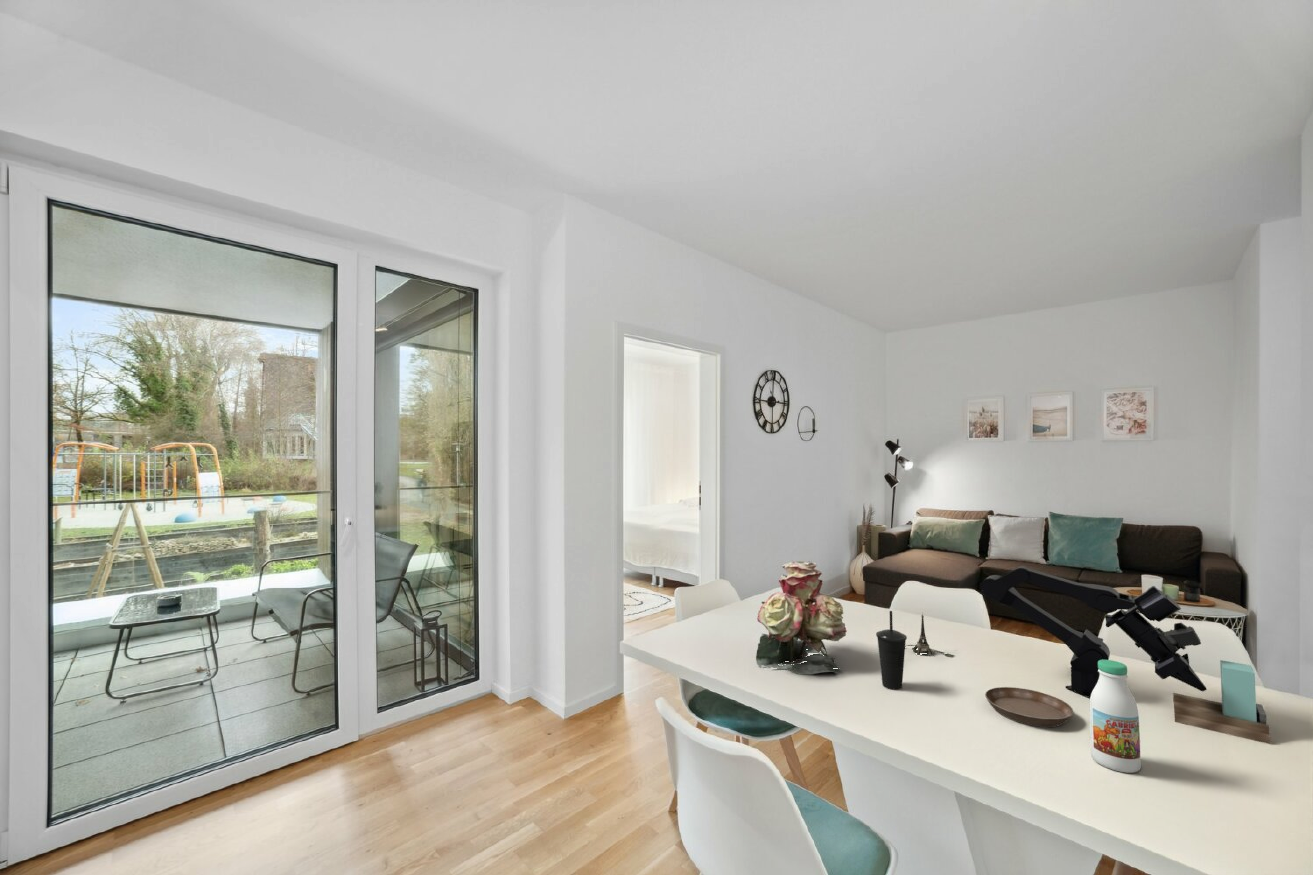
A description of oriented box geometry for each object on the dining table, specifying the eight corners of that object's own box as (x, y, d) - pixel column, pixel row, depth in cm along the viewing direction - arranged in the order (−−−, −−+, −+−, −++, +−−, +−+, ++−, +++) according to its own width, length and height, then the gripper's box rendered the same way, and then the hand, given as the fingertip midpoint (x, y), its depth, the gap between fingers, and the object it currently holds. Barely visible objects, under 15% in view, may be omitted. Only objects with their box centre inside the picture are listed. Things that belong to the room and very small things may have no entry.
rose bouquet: (751, 672, 158) (750, 567, 159) (768, 640, 186) (767, 551, 187) (846, 685, 149) (844, 574, 150) (848, 649, 177) (847, 555, 178)
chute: (1174, 721, 128) (1174, 699, 128) (1173, 702, 138) (1172, 682, 138) (1270, 744, 118) (1269, 720, 118) (1262, 722, 128) (1261, 700, 128)
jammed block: (1224, 720, 125) (1222, 667, 126) (1222, 711, 130) (1220, 660, 130) (1256, 727, 122) (1254, 673, 122) (1253, 718, 126) (1251, 665, 127)
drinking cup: (907, 683, 150) (906, 609, 151) (907, 694, 144) (906, 616, 144) (877, 678, 154) (876, 606, 154) (876, 688, 147) (874, 613, 147)
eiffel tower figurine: (956, 657, 171) (956, 614, 171) (940, 665, 165) (939, 620, 165) (910, 644, 183) (909, 603, 183) (893, 650, 177) (892, 608, 177)
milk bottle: (1081, 753, 115) (1078, 656, 115) (1115, 752, 115) (1112, 655, 116) (1115, 775, 107) (1111, 671, 108) (1151, 773, 108) (1148, 669, 108)
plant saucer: (968, 704, 138) (968, 691, 138) (1018, 693, 144) (1018, 681, 144) (1039, 738, 122) (1038, 724, 122) (1091, 724, 128) (1091, 710, 128)
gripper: (1173, 622, 127) (1244, 685, 119) (1172, 606, 141) (1235, 661, 133) (1129, 648, 132) (1194, 709, 124) (1131, 630, 146) (1190, 684, 138)
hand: (1204, 690), depth 130 cm, fingers closed
